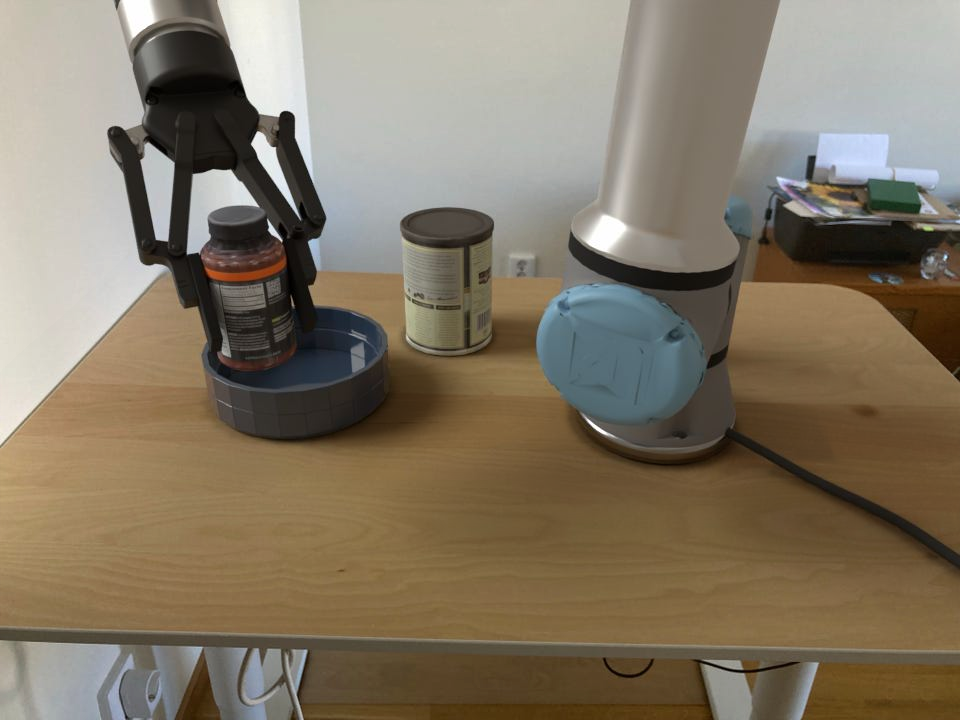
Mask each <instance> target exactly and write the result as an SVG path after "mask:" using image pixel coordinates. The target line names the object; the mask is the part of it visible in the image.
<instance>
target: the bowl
mask: <svg viewBox="0 0 960 720" xmlns="http://www.w3.org/2000/svg"><path fill="white" fill-rule="evenodd" d="M314 307H315V310H316V313H317V317H318V320H317V323H316V325H315V327H314V330H313V332H308V333H304V334H303V333H302V330H301V326H300V323H299V320H298V317H297V313H296V310H295V307H294V305H292V309H293V317H294V326H295V334H296V350H295V353H294V354H293V356H292V357H290V358H289V359H288V360H287V361H285V362H284V363H282V364H279V365H278V366H275V367H272V368H269V369H266V370H256V371H242V370H236V369H233V368H230V367H228V366H226V365H225V364H223V363H222V362H221V361H220V359H219V357H218V353H217V352H215V353H210V349H209V346H208V342H207V341H206V342H205V344H204V346H203V349H202V352H201V354H200V359H201V363H202V369H203V374H204V379H205V383H206V390H207V395H208V400H209V405H210V409H211V411H213V413H214V415H215V416H216V417H217V418H218V419H219V420H220V421H221V422H223V423H225V424H227V425H228V426H229V427H231V428H233V429H234V430H236V431H238V432H241V433H244V434H247V435H250V436H254V437H259V438H263V439H264V438H265V439H272V440H298V439H307V438H314V437H319V436H323V435H327V434H331V433H334V432H338V431H340V430H343V429H346V428H348V427H351V426H353V425H355V424H356V423H358V422H361V421H362V420H363V419H366V417H368V416H369V415H370V414H372V413H373V412H374V411H375V410H376V409H377V408H378V407H379V405H380V404H381V403H382V402H383V401H384V400H385V399H386V397H387V394H388V392H389V390H390V388H391V374H390V357H389V339H388V336H389V335H388V334H387V332H386V330H385V328H384V327H383V326H382V325H381V324H380V323H379V322H378V321H376V320H375V319H374V318H372V317H371V316H369V315H367V314H363V313H361V312H359V311H356V310H353V309H348V308H345V307H344V308H343V307H338V306H330V305H315V304H314Z"/></svg>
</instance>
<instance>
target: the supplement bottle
mask: <svg viewBox="0 0 960 720" xmlns="http://www.w3.org/2000/svg"><path fill="white" fill-rule="evenodd" d="M206 218H207V219H206V220H207V226H208V234H209V235H210V237H209V240H208V241H207V242H205V244H204V245H203V246H202V247H201V249H200V251H199V254H200V258H201V262H202V265H203V269H204V272H205V276H206V279H207V283H208V286H209V290H210V293H211V297H212V300H213V304H214V308H215V311H216V315H217V318H218V322H219V325H220V329H221V332H222V336H223V344H222V351H220V352H217V353H218V357H219V359H220V361H221V362H222V363H223V364H225V365H226V366H228V367H230V368H233V369H236V370H242V371H256V370H266V369H269V368H272V367H275V366H278V365H279V364H282V363H284V362H285V361H287V360H288V359H289V358H290V357H292V356H293V354H294V353H295V350H296V334H295V326H294V317H293V309H292V306H293V300H292V297H291V293H290V285H289V276H288V268H287V261H286V254H285V249H284V246H283V244H282V240H280V238H279V237H278V236H276V235H273V234H272V233H271V231H269V230H270V225H269V220H268V219H267V214H266V211H265V210H264V209H262V208H260V207H259V206H256V205H247V204H246V205H243V204H241V205H240V204H239V205H228V206H224V207H220V208H217V209H215V210H213V211H211V212H210V213H209V214H208V215H207V217H206Z"/></svg>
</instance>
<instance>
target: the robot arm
mask: <svg viewBox="0 0 960 720" xmlns="http://www.w3.org/2000/svg"><path fill="white" fill-rule="evenodd" d="M113 3H114V4H113V5H114V7H115V10H116V12H117V17H118V20H119V23H120V27H121V31H122V35H123V38H124V42H125V46H126V49H127V53H128V57H129V61H130V63H131V64H132V73H133V76H134V79H135V83H136V87H137V91H138V93H139V97H140V101H141V104H142V108H143V112H144V113H143V116H142V118H141V124H138V125H136V126H133V127H130V128H127V129H124V128H123V127H122V126H119V125H112V126H110V127H109V128H108V129H107V130H106V131H107V133H106V135H107V142H108V149H109V154H110V155H111V157H112V159H113V161H114V162H115V164H117V166H118V168H119V169H120V171H121V173H122V175H123V180H124V185H125V190H126V195H127V200H128V206H129V211H130V217H131V223H132V228H133V232H134V237H135V243H136V249H137V255H138V259H139V262H140V263H141V264H142V265H143V266H148V267H151V266H154V265H160V266H164V267H165V268H168V270H169V271H170V272H171V275H172V279H173V283H174V287H175V291H176V294H177V299H178V301H179V304H180V305H181V307H182V308H183V309H184V310H186V309H192V308H197V309H198V314H199V317H200V320H201V325H202V328H203V332H204V334H205V338H206V342H208V346H209V349H210V353H215V352H220V351H222V344H223V336H222V332H221V329H220V325H219V322H218V318H217V315H216V311H215V308H214V304H213V300H212V297H211V293H210V290H209V286H208V283H207V279H206V276H205V272H204V269H203V265H202V262H201V258H200V252H193V253H192V252H191V253H188V243H189V229H190V218H191V204H192V193H193V192H192V191H193V182H194V181H193V179H194V175H199V174H204V173H207V172H210V171H212V170H215V171H217V170H218V171H231V172H232V174H233V175H234V177H235V178H236V179H237V181H239V182H241V183H242V184H243V187H245V189H246V190H247V191H248V193H249V195H250V196H251V197H252V199H253V200H254V202H255V203H256V205H257V207H260V208H262V209H264V210H265V211H266V214H267V221H268V223H270V225H271V226H272V228H273V229H274V231H275V232H276V233H277V235H278V236H279V239H281V242H282V244H283V246H284V249H285V254H286V261H287V268H288V276H289V285H290V293H291V301H292V304H293V306H294V307H295V310H296V313H297V317H298V320H299V323H300V326H301V330H302V333H303V334H304V333H308V332H313V330H314V327H315V325H316V323H317V320H318V317H317V313H316V310H315V307H314V305H315V304H314V300H313V297H312V294H311V291H310V287H309V286H314V285H315V283H316V280H317V274H318V269H317V266H316V263H315V260H314V257H313V254H312V250H311V248H310V244H309V242H310V241H312V240H318V239H319V238H320V237H321V236H322V233H323V231H324V229H325V225H326V223H327V214H326V212H325V210H324V207H323V204H322V202H321V200H320V197H319V195H318V191H317V189H316V187H315V184H314V182H313V179H312V177H311V173H310V171H309V169H308V166H307V164H306V161H305V158H304V157H303V153H302V151H301V149H300V146H299V144H298V141H297V139H296V116H295V114H294V113H293V112H292V111H289V110H283V111H281V112H280V113H279V115H278V116H276V115H275V116H274V115H269V114H263V113H260V112H259V111H258V109H257V107H256V106H254V105H253V103H251V101H250V100H249V99H248V96H247V93H246V90H245V89H246V88H245V87H244V82H243V80H242V76H241V72H240V70H239V67H238V64H237V59H236V57H235V54H234V52H233V51H234V50H232V48H231V41H230V38H229V34H228V31H227V28H226V25H225V22H224V19H223V16H222V13H221V9H220V6H219V3H218V0H113ZM780 3H781V0H630V2H629V8H628V13H627V19H626V25H625V30H624V38H623V43H622V48H621V49H622V50H621V55H620V61H619V68H618V74H617V80H616V85H615V91H614V97H613V103H612V109H611V115H610V121H609V127H608V132H607V133H608V134H607V138H606V139H607V140H606V145H605V151H604V157H603V164H602V168H601V169H602V170H601V176H600V181H599V185H598V186H599V187H598V192H597V198H596V199H595V200H594V201H593V202H591V203H589V204H588V205H587V206H585V207H584V208H582V209H581V210H580V211H578V212H577V213H575V215H574V216H573V218H572V221H571V225H570V230H569V237H568V245H567V250H566V255H565V261H564V262H565V263H564V268H563V273H562V275H563V276H562V281H561V286H560V291H559V293H558V294H557V295H556V296H555V297H553V298H552V299H551V300H550V301H549V304H548V305H547V307H546V308H544V314H543V315H542V317H541V319H540V322H539V325H538V328H537V333H536V339H535V340H536V341H535V343H536V344H535V345H536V353H537V358H538V363H539V365H540V367H541V370H542V372H543V374H544V376H545V378H546V380H547V381H548V383H549V384H550V385H551V386H553V387H554V388H555V390H557V392H559V393H560V397H561V398H562V399H563V400H564V402H566V403H567V404H569V405H570V406H571V407H573V408H574V415H575V419H576V422H577V424H578V426H579V427H580V429H581V431H582V432H583V433H584V434H585V435H586V437H588V438H589V439H590V440H592V441H593V442H594V443H595V444H597V445H598V446H600V447H602V448H604V449H606V450H608V451H610V452H612V453H613V454H616V455H618V456H622V457H625V458H627V459H631V460H635V461H640V462H645V463H652V464H661V465H662V464H663V465H675V464H676V465H677V464H679V465H680V464H687V463H689V464H690V463H694V462H698V461H703V460H705V459H709V458H710V457H712V456H715V455H716V454H719V453H720V452H721V451H722V450H723V449H724V448H725V447H726V446H727V445H728V444H729V442H730V441H733V442H734V443H737V444H739V445H740V446H742V447H744V448H746V449H747V450H749V451H751V452H753V453H755V454H756V455H758V456H760V457H762V458H764V459H765V460H767V461H770V462H771V463H773V465H776V466H777V467H780V468H781V469H782V470H784V471H786V472H788V473H789V474H791V475H793V476H795V477H797V478H798V479H800V480H801V481H804V482H806V483H808V484H810V485H812V486H813V487H815V488H818V489H819V490H822V491H823V492H826V493H827V494H830V495H832V496H833V497H836V498H838V499H840V500H842V501H844V502H847V503H849V504H850V505H853V506H855V507H858V508H859V509H861V510H863V511H865V512H867V513H869V514H871V515H873V516H875V517H878V518H879V519H881V520H883V521H885V522H886V523H888V524H890V525H892V526H894V527H896V528H897V529H899V530H901V531H902V532H904V533H906V534H907V535H909V536H911V537H912V538H913V539H915V540H916V541H918V542H919V543H921V544H923V546H925V547H927V549H928V548H929V549H930V550H931V551H932V552H933V553H935V554H937V555H938V556H940V557H941V558H943V559H944V560H945V561H946V562H948V563H950V564H951V565H953V566H954V567H955V568H957V569H959V570H960V554H959V553H957V552H956V551H955V550H953V549H952V548H950V547H949V546H947V545H946V544H944V543H943V542H941V541H940V540H939V539H937V538H936V537H935V536H933V535H931V534H930V533H928V532H927V531H926V530H924V529H922V528H921V527H919V526H917V525H916V524H914V523H913V522H911V521H909V520H908V519H906V518H904V517H902V516H901V515H899V514H897V513H895V512H894V511H891V510H890V509H889V508H886V507H883V506H882V505H880V504H877V503H875V502H873V501H871V500H869V499H868V498H865V497H863V496H861V495H860V494H857V493H854V492H852V491H851V490H848V489H846V488H843V487H842V486H839V485H837V484H835V483H833V482H831V481H829V480H827V479H825V478H823V477H821V476H819V475H817V474H815V473H813V472H811V471H809V470H807V469H805V468H804V467H801V466H800V465H799V464H796V463H795V462H793V461H791V460H789V459H788V458H786V457H784V456H782V455H780V454H779V453H778V452H776V451H773V450H772V449H770V448H769V447H766V446H764V445H763V444H761V443H759V442H757V441H755V440H754V439H752V438H749V436H746V435H744V434H742V433H741V432H739V431H737V430H735V429H734V427H735V422H736V418H737V417H736V416H737V415H736V414H737V413H736V407H735V402H734V396H733V391H732V384H731V380H730V379H731V378H730V373H729V368H728V367H729V366H728V361H727V359H728V358H727V357H728V352H729V347H730V341H731V337H732V331H733V325H734V320H735V315H736V309H737V305H738V300H739V296H740V295H739V294H740V289H741V283H742V279H743V273H744V268H745V263H746V258H747V252H748V248H749V243H750V240H752V239H753V236H754V233H753V232H752V227H753V218H754V212H753V208H752V206H751V205H750V203H749V202H748V201H747V200H745V199H743V198H742V197H740V196H738V195H735V194H732V189H733V187H734V182H735V177H736V173H737V170H738V166H739V162H740V159H741V154H742V150H743V146H744V143H745V139H746V136H747V131H748V127H749V123H750V119H751V115H752V111H753V109H754V105H755V100H756V96H757V93H758V89H759V84H760V81H761V77H762V73H763V69H764V65H765V61H766V57H767V54H768V50H769V46H770V42H771V39H772V34H773V31H774V27H775V22H776V19H777V14H778V11H779V8H780ZM258 132H259V133H261V134H263V135H264V137H265V140H266V142H267V143H268V144H269V146H270V147H271V148H275V155H276V159H277V162H278V165H279V167H280V170H281V172H282V175H283V177H284V180H285V183H286V185H287V188H288V190H289V194H290V196H291V198H292V200H293V203H294V205H295V209H296V211H297V212H296V211H295V210H294V208H293V206H291V204H290V203H289V201H288V200H287V199H286V196H284V194H283V192H282V191H281V190H280V188H279V187H278V185H277V184H276V183H275V181H274V180H273V178H272V176H271V175H270V174H269V172H268V170H266V168H265V166H264V165H263V163H262V162H261V161H260V159H259V157H258V153H257V151H256V149H255V148H254V146H253V141H254V140H255V137H256V135H257V133H258ZM147 144H150V145H151V146H152V147H154V148H155V149H156V150H158V151H159V152H160V153H161V154H163V155H164V156H165V157H166V158H168V160H170V161H171V162H173V163H174V164H173V166H174V167H173V178H172V189H171V190H172V191H171V201H170V202H171V203H170V214H169V224H168V225H169V226H168V227H169V228H168V238H167V240H160V239H157V237H156V232H155V227H154V223H153V217H152V212H151V207H150V201H149V197H148V192H147V187H146V182H145V175H144V172H143V167H142V160H143V159H144V158H145V156H146V149H145V146H146V145H147Z"/></svg>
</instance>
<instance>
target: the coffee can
mask: <svg viewBox="0 0 960 720" xmlns="http://www.w3.org/2000/svg"><path fill="white" fill-rule="evenodd" d="M494 230H495V221H494V219H493V217H491V216H490V215H488V214H486V213H484V212H482V211H480V210H475V209H471V208H465V207H453V206H452V207H451V206H444V207H432V208H426V209H421V210H417V211H413V212H411V213H408V214H407V215H405V216H403V218H402V219H401V220H400V222H399V231H400V233H401V252H402V272H403V292H404V312H405V313H404V315H405V339H406V341H407V343H408V345H410V346H411V347H412V348H413V349H415V350H417V351H419V352H421V353H424V354H427V355H428V354H429V355H432V356H441V357H442V356H443V357H451V356H463V355H468V354H472V353H475V352H478V351H479V350H481V349H483V348H484V347H486V346H487V345H489V344H490V342H491V340H492V338H493V331H492V320H493V319H492V317H493V316H492V315H493V313H492V310H493V309H492V308H493V307H492V306H493V238H494V237H493V235H494V234H493V233H494Z"/></svg>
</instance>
